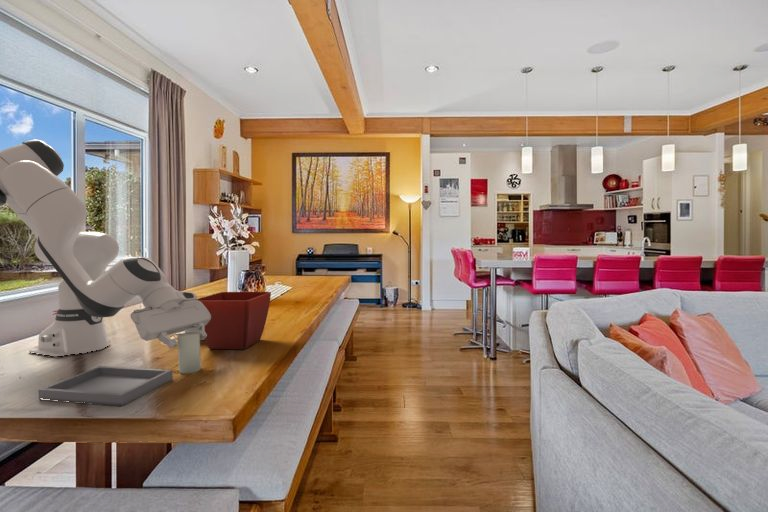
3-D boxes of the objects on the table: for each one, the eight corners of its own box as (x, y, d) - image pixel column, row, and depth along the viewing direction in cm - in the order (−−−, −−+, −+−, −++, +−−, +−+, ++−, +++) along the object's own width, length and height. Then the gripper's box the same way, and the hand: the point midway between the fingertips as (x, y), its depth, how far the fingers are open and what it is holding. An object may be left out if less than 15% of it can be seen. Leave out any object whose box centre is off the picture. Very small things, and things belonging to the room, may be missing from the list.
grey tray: (39, 400, 90) (38, 389, 90) (100, 375, 106) (99, 365, 106) (121, 406, 87) (121, 395, 86) (172, 379, 102) (172, 370, 102)
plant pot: (223, 336, 144) (221, 291, 143) (273, 337, 142) (272, 291, 141) (192, 352, 126) (190, 300, 124) (249, 353, 123) (247, 300, 122)
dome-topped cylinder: (174, 373, 107) (172, 337, 106) (187, 366, 112) (186, 331, 112) (192, 374, 106) (191, 337, 105) (205, 367, 111) (203, 332, 111)
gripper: (132, 303, 101) (159, 345, 98) (199, 292, 120) (224, 326, 116) (122, 319, 104) (148, 360, 100) (190, 305, 122) (213, 339, 118)
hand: (189, 342), depth 108 cm, fingers open, 8 cm apart
